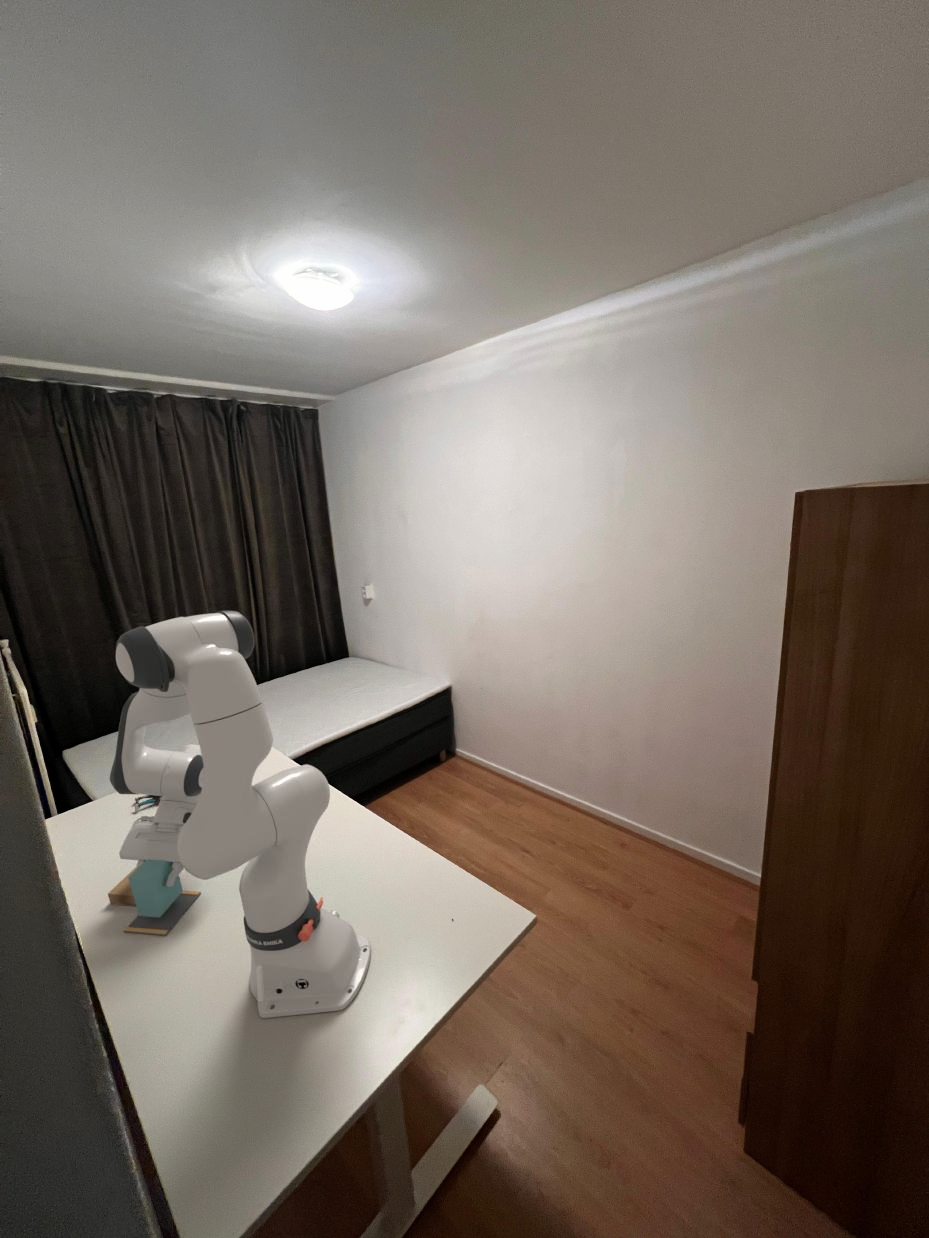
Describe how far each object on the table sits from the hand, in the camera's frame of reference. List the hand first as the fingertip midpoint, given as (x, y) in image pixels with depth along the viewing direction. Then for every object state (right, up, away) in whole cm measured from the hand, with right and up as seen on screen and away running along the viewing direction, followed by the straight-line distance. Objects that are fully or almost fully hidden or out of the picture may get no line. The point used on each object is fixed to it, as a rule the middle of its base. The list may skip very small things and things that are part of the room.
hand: (154, 885), depth 104 cm
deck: (-8, -6, +10) cm, 15 cm away
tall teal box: (0, -5, +2) cm, 5 cm away
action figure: (-25, +2, +46) cm, 52 cm away
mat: (+1, -7, +2) cm, 8 cm away
